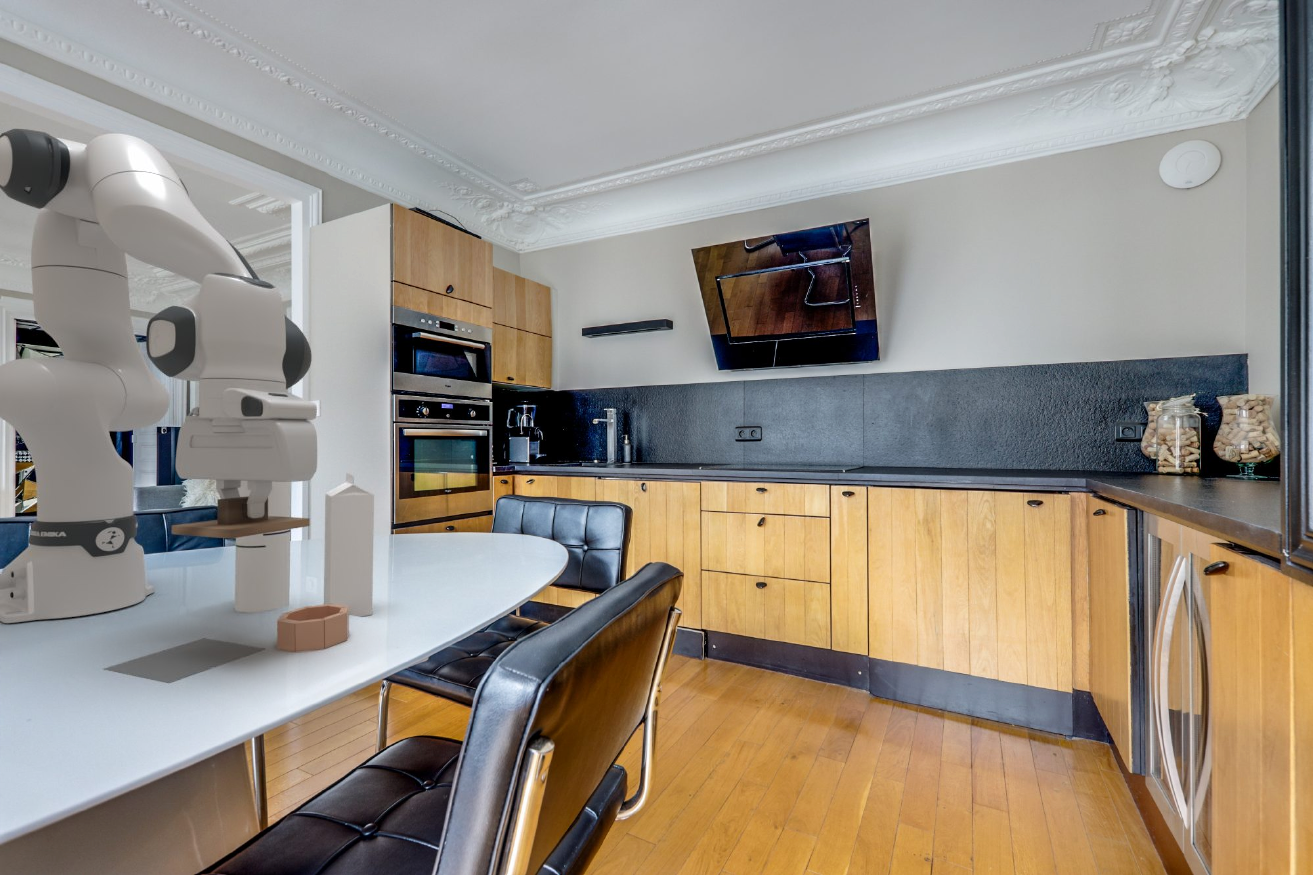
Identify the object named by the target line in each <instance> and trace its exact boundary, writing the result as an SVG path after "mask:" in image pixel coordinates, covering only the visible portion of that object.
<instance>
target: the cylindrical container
mask: <svg viewBox="0 0 1313 875" xmlns="http://www.w3.org/2000/svg"><path fill="white" fill-rule="evenodd" d="M238 491H239V495H240V497H247V496H249V495H250V492H251V490H248V487H247V481H241V487H240V488H238ZM291 505H292V482H272V490H271V492H270V494H269V496H268V516H279V517H292V514H291V513H292V510H291V509H292V506H291ZM234 570H235V571H234V572H235V574H234V580H235V581H234V610H235V611H236V612H239V613H261V612H267V611H272V610H273V611H274V610H277V609H281V608H284V607H287V608H290V586H291V584H290V582H291V581H290V580H291V529H288V530H282V531H275V532H269V533H263V534H257V535H251V536H244V537H238V538H235V568H234Z"/></svg>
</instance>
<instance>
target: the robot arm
mask: <svg viewBox="0 0 1313 875" xmlns="http://www.w3.org/2000/svg"><path fill="white" fill-rule="evenodd" d="M174 170H175V169H173V168H172V166H171V165H170V163H169V162H168V161H167V159H166V158H165V157H164V156H163V155H162V154H161V152H160V151H159V150H158V149H156V147H154V146H153V145H152V144H150V143H149V142H147V141H145V140H144V139H142V138H139V137H138V136H137V137H136V136H135V135H130V134H126V133H119V132H117V133H116V132H114V133H113V132H111V133H110V132H109V133H105V134H101V135H98V136H95V137H94V138H92V140H90V141H89V142H88V143H87V144H85V143H82V142H79V141H74V140H72V139H71V140H70V139H65V138H62V137H56V136H54V135H53V136H52V135H51V134H49V133H47V132H46V131H40V130H39V131H38V130H33V129H28V128H27V129H26V128H25V129H24V128H12V129H9V130H7V131H5V132H4V131H3V133H0V189H1V191H2V192H3V193H4V194H5V195H6V196H7V197H8V198H10V199H12V200H14V201H16V202H19V203H21V204H22V205H23V204H24V205H26V206H29V207H32V208H35V209H39V210H40V209H41V210H40V211H39V212H38V214H37V216H36V220H35V223H34V227H33V234H32V240H31V250H30V252H31V253H30V262H31V266H30V268H31V285H32V286H31V287H32V298H33V299H32V300H33V302H32V303H33V316H34V319H35V322H36V323H37V325H38V326H39V327H40V328H41V329H42V330H43V331H44V332H45V333H46V334H47V335H49V336H50V337H51V338H52V339H53V341H55V343H56V344H57V345H58V347H59V349H60V351H61V353H62V356H63V357H64V358H62V357H55V356H51V357H50V356H48V357H47V356H45V357H44V356H43V357H29V358H28V357H27V358H18V359H17V358H16V359H12V360H8V361H6V362H4V363H3V364H1V365H0V419H2V420H3V421H5V422H6V423H8V424H9V425H11V427H12V428H13V429H14V430H15V431H16V432H17V433H18V434H19V436H20V438H21V439H22V441H23V443H24V444H25V446H26V448H27V449H28V453H29V455H30V457H31V460H32V463H33V465H34V472H35V477H36V478H35V479H36V480H35V481H36V520H34V521H33V522H32V523H29V526H31V529H29V533H28V535H29V536H28V540H27V543H28V544H29V545H28V546H27V547H26V548H25V550H23V551H22V552H21V553H20V554H19V555H18V556H16V557H15V559H12V561H11V562H10V563H9V564H7V565H6V566H4V568H3V569H2V570H1V573H0V622H1V623H4V624H11V623H12V624H15V623H20V622H30V621H36V620H51V619H63V618H64V619H65V618H72V617H80V616H81V617H82V616H87V615H93V614H100V613H104V612H109V611H110V612H111V611H114V610H119V609H123V608H126V607H130V606H133V605H136V604H138V603H140V602H143V601H144V600H145V599H146V598H147V596H148V595H152V594H153V593H155V588H154V586H153V585H148V583H147V574H146V573H147V571H146V561H145V550H144V548H143V546H142V545H141V544H138V543H137V541H136V540H135V538H136V536H138V535H137V534H138V531H137V530H138V525H139V524H138V520H137V519H138V518H137V515H136V514H134V497H135V496H134V494H135V493H134V492H135V490H134V488H135V483H134V481H135V472H134V469H133V467H132V465H131V464H130V463H129V462H128V461H126V460H125V459H123V458H122V457H121V456H120V455H119V453H118V452H117V450H116V448H115V446H114V444H113V441H112V438H111V436H110V434H111V433H110V432H130V431H134V430H138V429H139V430H140V429H142V428H146V427H150V426H153V425H155V424H158V422H160V421H161V420H162V419H163V418H164V417H165V416H166V414H167V413H168V411H169V408H170V395H169V391H168V389H167V388H166V386H165V384H163V383H162V381H161V380H159V378H158V377H156V376H155V375H154V373H153V372H152V370H151V369H150V367H149V366H148V364H147V362H146V359H145V357H144V356H143V353H142V351H141V348H140V346H139V343H138V340H137V338H136V335H135V331H134V328H133V321H132V313H131V302H130V301H131V299H130V291H129V289H130V288H129V274H128V266H127V258H126V254H127V255H128V256H130V257H132V258H134V259H136V260H138V261H139V262H141V263H145V264H147V265H150V266H152V267H156V268H159V269H161V270H164V271H167V272H170V273H173V274H176V275H178V276H180V277H183V278H186V279H188V280H191V281H192V282H195V283H197V284H199V285H201V286H200V288H199V291H198V292H197V294H195V295H194V296H192V297H191V298H190V299H188V300H187V301H185V302H183V303H181V304H178V305H171V306H168V307H166V308H164V309H163V310H161V311H160V312H158V313H157V314H155V315H154V316H153V317H151V318H150V319H149V321H148V324H147V327H146V332H145V333H146V334H145V335H146V337H145V345H146V347H145V348H146V354H147V357H148V358H149V360H150V361H151V363H152V364H153V365H154V366H155V367H156V369H158V370H159V372H160V373H162V374H164V375H165V376H167V377H168V378H173V379H177V380H182V381H188V382H190V381H191V382H198V406H196V407H193V408H192V409H191V411H190V412H189V413H188V415H186V416H185V419H184V422H183V423H182V425H181V427H180V428H179V432H178V436H177V443H176V444H177V445H176V452H175V453H176V454H175V456H176V457H175V471H176V473H177V476H178V477H179V478H180V479H183V480H184V479H185V480H186V479H188V480H214V481H215V489H216V492H217V493H218V495H219V497H220V498H219V499H227V498H237V497H240V495H239V491H238V488H240V487H241V481H247V487H248V490H251V492H250V495H249V498H248V501H247V503H245V504H242V510H243V512H242V516H243V517H244V518H260V517H263V516H264V503H265V502H266V500H267V498H268V496H269V494H270V492H271V490H272V482H291V483H292V482H293V483H294V482H297V483H298V482H308V481H311V480H312V479H313V477H314V476H315V473H316V472H317V468H318V436H317V430H316V427H315V425H314V424H313V423H312V421H313V420H315V419H316V417H317V413H318V412H317V409H318V408H317V405H316V404H315V403H314V402H313V401H311V400H308V399H306V398H305V399H304V398H303V397H300V396H297V395H295V394H293V393H292V392H287V390H288V389H290V388H292V387H293V386H294V385H296V384H297V383H299V382H300V381H301V380H302V379H304V377H305V376H306V374H307V373H308V371H309V370H310V368H311V365H312V357H313V356H312V349H311V346H310V343H309V341H308V339H307V337H306V336H305V334H304V332H302V330H301V328H299V326H298V325H297V324H296V323H294V322H293V321H292V320H291V319H290V318H289V317H287V315H285V310H284V304H283V300H282V297H281V293H280V290H279V289H278V288H277V287H276V286H275V285H273V284H272V283H270V282H268V281H265V280H262V279H260V278H259V277H258V275H257V274H256V272H255V270H254V269H253V267H252V266H251V265H250V263H249V261H248V260H246V258H245V256H243V254H242V253H241V252H240V251H239V249H237V248H236V247H235V246H234V245H233V244H232V243H231V242H230V241H229V240H227V239H226V238H225V237H224V236H223V235H221V233H219V231H218V230H216V229H215V228H214V227H213V226H212V225H211V224H210V223H209V221H207V219H206V218H205V217H204V216H203V215H202V213H201V212H199V210H198V208H197V207H196V206H195V205H194V203H193V202H192V200H191V199H190V196H189V195H190V194H189V192H188V189H187V187H186V185H185V183H184V182H183V180H182V179H181V178H180V177H179V176H178V175H177V173H176V171H174Z"/></svg>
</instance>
